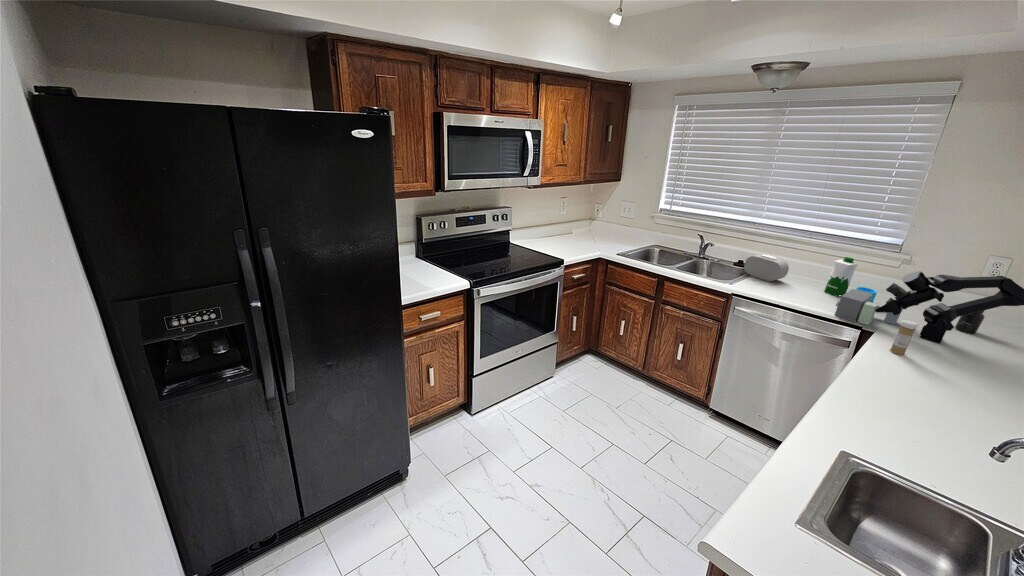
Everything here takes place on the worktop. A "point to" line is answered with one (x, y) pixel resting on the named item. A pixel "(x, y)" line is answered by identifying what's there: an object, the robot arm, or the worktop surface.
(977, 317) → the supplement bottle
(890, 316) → the grey key
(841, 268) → the milk carton
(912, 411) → the worktop surface
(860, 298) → the grey curved block
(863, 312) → the green key
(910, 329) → the sprinkles bottle
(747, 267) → the grey rounded oblong block
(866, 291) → the mug
